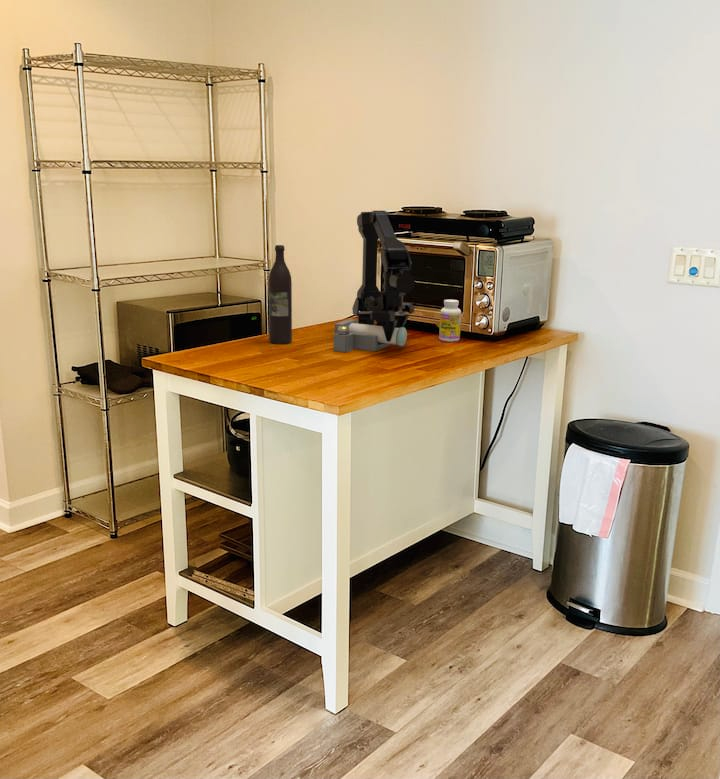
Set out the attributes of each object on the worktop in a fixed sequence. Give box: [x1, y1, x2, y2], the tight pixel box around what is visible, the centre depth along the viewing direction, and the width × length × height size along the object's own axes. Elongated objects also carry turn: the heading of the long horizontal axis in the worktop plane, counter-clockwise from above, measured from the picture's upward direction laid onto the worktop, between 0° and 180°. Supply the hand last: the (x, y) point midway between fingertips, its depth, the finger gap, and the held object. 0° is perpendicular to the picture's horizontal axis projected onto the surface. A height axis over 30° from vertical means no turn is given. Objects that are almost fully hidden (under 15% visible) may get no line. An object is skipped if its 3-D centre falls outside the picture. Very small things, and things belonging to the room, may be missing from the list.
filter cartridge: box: [349, 322, 408, 347], centre depth 247 cm, size 6×18×6 cm, turn 63°
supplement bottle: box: [438, 299, 462, 343], centre depth 260 cm, size 7×7×13 cm
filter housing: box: [333, 318, 390, 353], centre depth 247 cm, size 16×14×7 cm
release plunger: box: [338, 326, 349, 335], centre depth 243 cm, size 3×3×6 cm
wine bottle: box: [268, 244, 293, 345], centre depth 250 cm, size 7×7×30 cm
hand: (392, 339), depth 245 cm, fingers closed on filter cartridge, 5 cm apart
